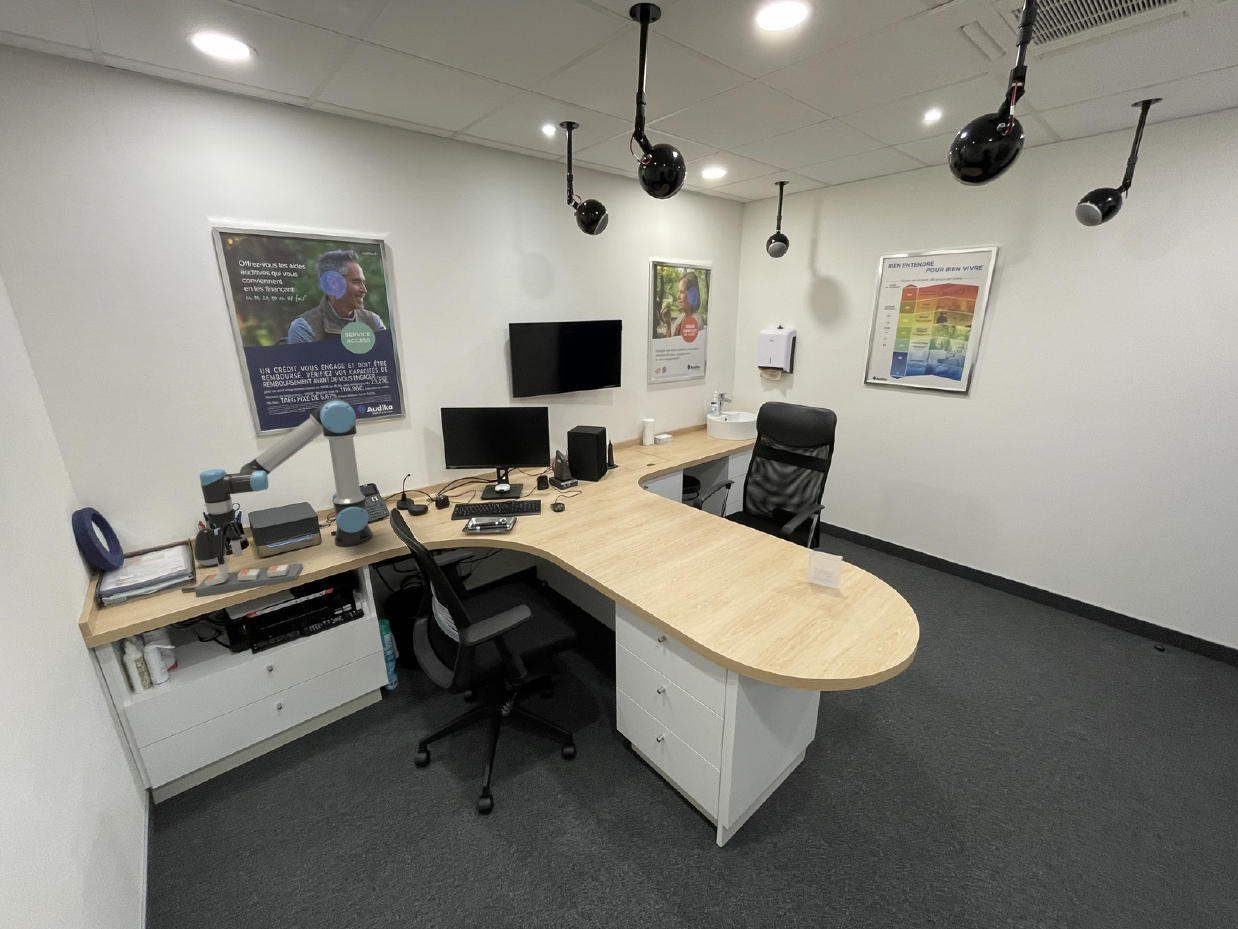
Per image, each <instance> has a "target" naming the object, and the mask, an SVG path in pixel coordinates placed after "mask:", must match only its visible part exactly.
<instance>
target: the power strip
mask: <svg viewBox="0 0 1238 929" xmlns="http://www.w3.org/2000/svg"><path fill="white" fill-rule="evenodd" d="M287 565H288V566H289V570H288V572H287V573H286V575H281V576H272V577H268V573H267V572H268V570H269V569H270V567H271V566H269V567H263V568H259V569H260V575H259V576H258V578H257V579H256V580H238V574H239V573H240V572H241V570H240V571H232V572H228V574H229V577H228V578H227V580H226V581H225V582H222V583H219V584H215V585H211V586H208V587H207V586H206V584H205V581H206V580H207V579H208V578H209V576H212V575H213V574H211V575H209V574H208V575H207V576H206V577H205V578H204V579H203V580H202V581H201V582H200V583H199V584H198V585H197V586H190V587H182V588H181V592H183V593H184V592H191V591H194V592H195V593H194V594H195V597H196V598H199V597H200V598H201V597H207V596H213V595H220V594H226V593H234V592H240V591H243V590H244V591H245V590H250V589H254V588H255V589H256V588H260V587H266V586H272V585H276V584H282V583H288V582H294V581H297V579H298V577H299V575H300V573H301V572H302V570H303V569H304V566H303V562H301V563H294V564H293V563H292V564H287Z"/></svg>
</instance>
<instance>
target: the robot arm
mask: <svg viewBox="0 0 1238 929" xmlns="http://www.w3.org/2000/svg"><path fill="white" fill-rule="evenodd" d="M356 420H357V416H356V412H355V410H354V408H353V406H351V404H350V403H349V402H347V401H346V400H345V399H343V398H338V397H331V398H329V399H327V400H325V401H324V402H323V403H322V404H321V405H320V406H318V407H317V408H316V409H315V410H314V411H313V412H311V413H310V414H309V418H308V419H306V420H305V421H304V422H302V423H301V424H300V425H298V426H297V427H295V428H294V429H293V430H291V431H290V432H289V433H287V434H285V436H283V437H282V438H281V439H279V440H278V441H277V442H276V443H273V445H271V446H270V447H269V448H268V449H266V450H265V451H263V452H262V453H261V454H259V455H258V456H257V457H255V458H254V459H253V460H251V461H250V462H247V463H245V464H244V465H243V466H242V467H241V468H240V470H239V472H238V473H237V472H236V473H227V472H226V470H225V469H222V468H214V469H213V468H212V469H207V470H204V471H202V472H200V474H199V479H200V487H201V491H202V495H203V499H204V507H205V508H206V513H207V518H208V522H209V524H211V525H214V526H215V529H212V536H213V549H212V556H213V557H216V558H217V562H218V564H217V566H218V570H219V573H223V572H230V567H229V562H228V558H227V553H226V554H224V553H225V547H226V542H227V539H228V538H229V539H230V545H231V547H230V548H231V550H232V556H233V558H236V557H238V558H239V557H243V549H242V546H241V540H242V539H243V536H242V534H241V531H240V529H239V527H238V525H237V523H236V521H235V518H236V517H235V516H236V515H235V512H234V511H235V510H234V509H233V508H234V505H233V501H232V497H231V495H234V494H235V495H237V494H244V493H245V494H246V493H254V492H260V491H266V490H267V489H268V488H269V478H268V475H269V474H270V473H272V472H273V471H274V470H276V469H277V468H278V467H280V466H281V465H282V464H284V463H285V462H286V461H287V460H289V459H290V458H292V457H293V456H294V455H296V454H298V452H300V451H302V449H304V448H305V447H306V446H307V445H309V444H310V443H311V442H313V441H315V440H316V439H317V438H319V437H320V436H321V435H323V437H325V438H326V439H327V440H328V443H329V444H328V445H329V450H330V452H329V453H330V458H331V464H332V465H331V466H332V471H333V478H334V485H335V492H336V493H334V494H333V495H332V504H333V510H334V515H335V523H336V531H335V535H334V545H335V546H336V547H338V548H349V547H356V546H359V545H362V544H365V543H368V542H369V541H370V540H372V538H374V535H373V532H372V529H371V527H370V526H369V524H368V523H369V519H370V516H369V513H368V508H367V502H366V495H364V494H363V492H362V490H361V488H360V479H359V473H358V472H359V471H358V465H357V457H356V450H355V442H354V441H355V440H354V437H355V436H356V435H357V424H356V423H357V422H356Z"/></svg>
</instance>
